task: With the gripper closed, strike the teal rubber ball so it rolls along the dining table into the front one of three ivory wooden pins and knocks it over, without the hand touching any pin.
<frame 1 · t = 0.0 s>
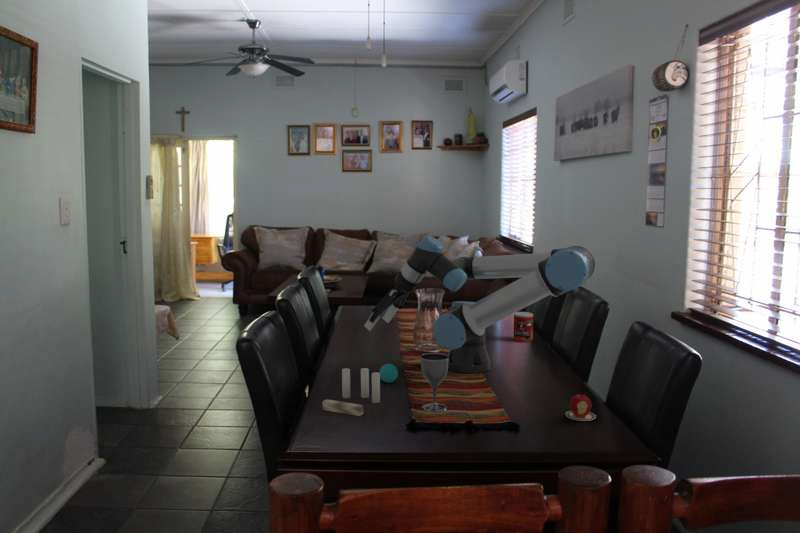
hand: (376, 324, 224), 15 cm above the table, tool tilted 35°, fingers open, 13 cm apart
canned food: (522, 340, 265), on the table
near back pin: (376, 401, 190), on the table
front pin: (365, 396, 195), on the table
backstop: (342, 411, 182), on the table
far back pin: (346, 397, 195), on the table
wine glass: (434, 408, 185), on the table
ball: (388, 373, 209), on the table
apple: (580, 417, 178), on the table
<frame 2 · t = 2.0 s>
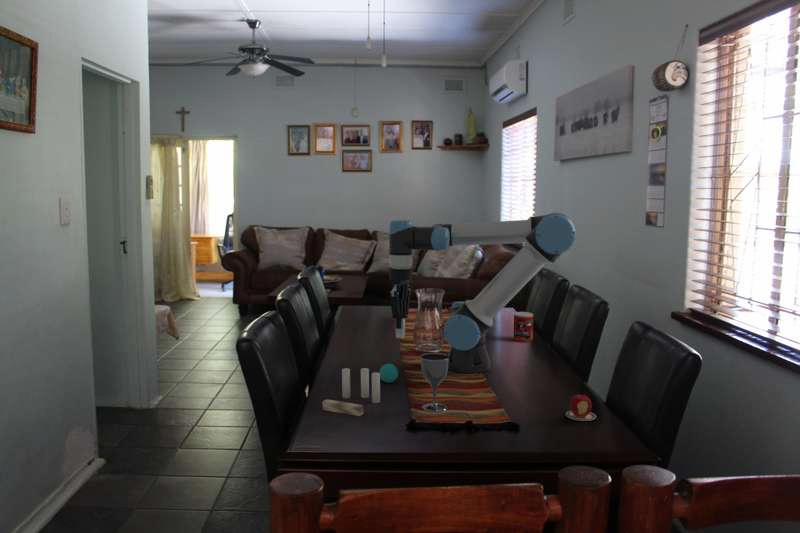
hand: (400, 337, 216), 13 cm above the table, tool pointing down, fingers closed
nothing on the table moved.
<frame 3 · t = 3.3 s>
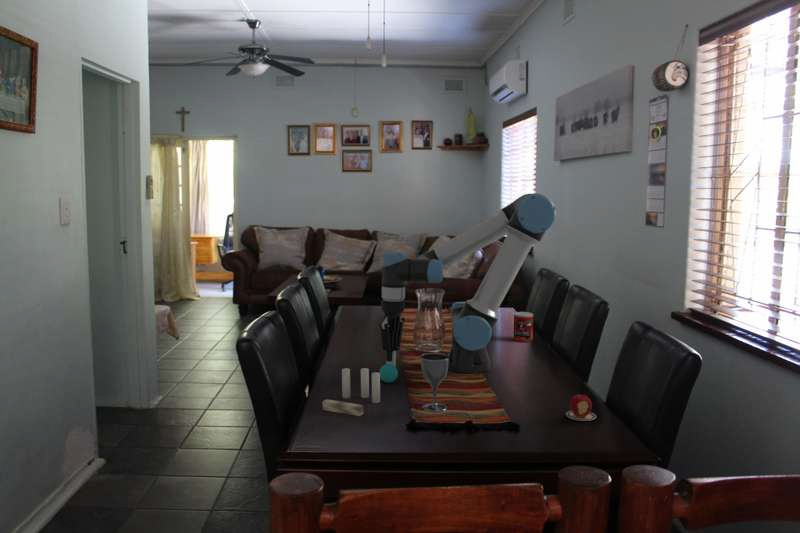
hand: (390, 369, 213), 3 cm above the table, tool pointing down, fingers closed
nothing on the table moved.
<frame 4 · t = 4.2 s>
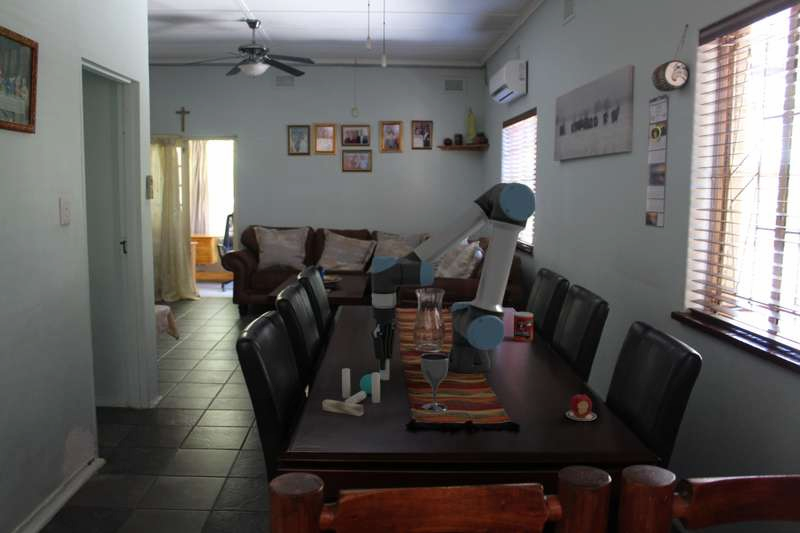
hand: (384, 378, 206), 2 cm above the table, tool pointing down, fingers closed
front pin: (362, 394, 193), point 1 cm above the table, tilted 90°
ball: (369, 384, 197), on the table
everything else where it was.
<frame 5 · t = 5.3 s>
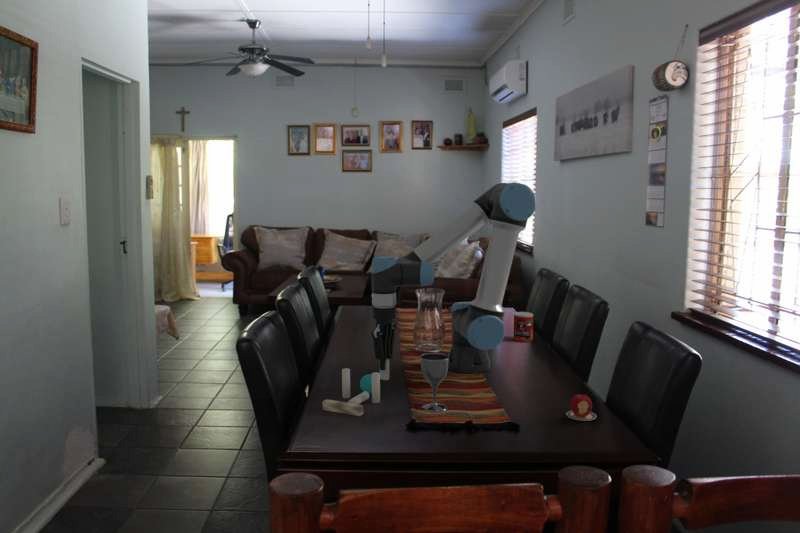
hand: (384, 379, 206), 2 cm above the table, tool pointing down, fingers closed
front pin: (365, 395, 193), point 1 cm above the table, tilted 90°
everything else where it was.
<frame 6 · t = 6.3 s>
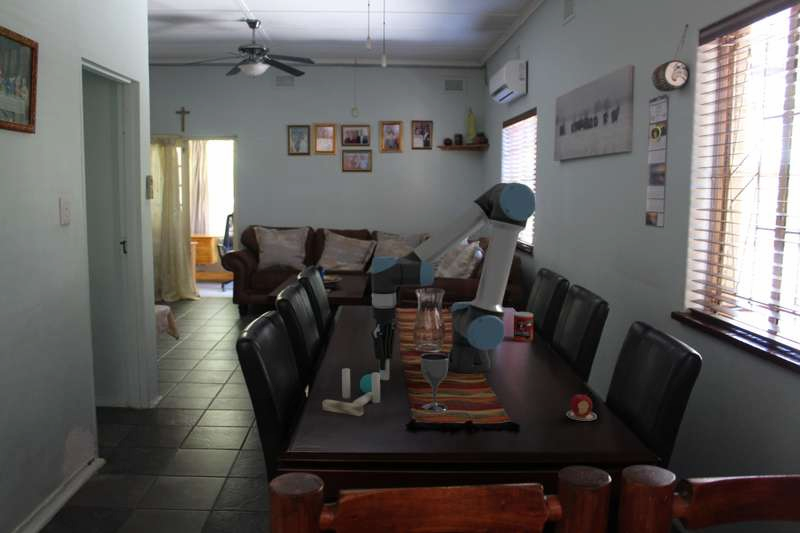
hand: (384, 379, 206), 2 cm above the table, tool pointing down, fingers closed
front pin: (370, 395, 192), point 1 cm above the table, tilted 90°
everything else where it was.
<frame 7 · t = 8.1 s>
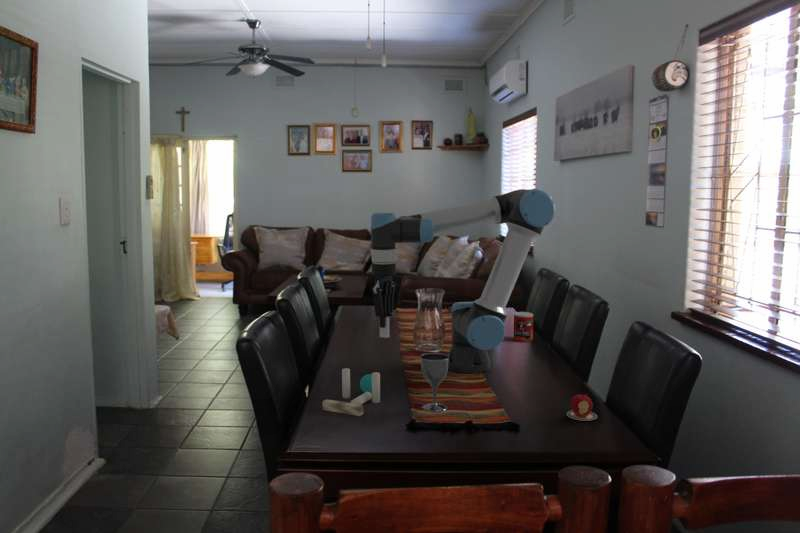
hand: (384, 336, 205), 16 cm above the table, tool pointing down, fingers closed
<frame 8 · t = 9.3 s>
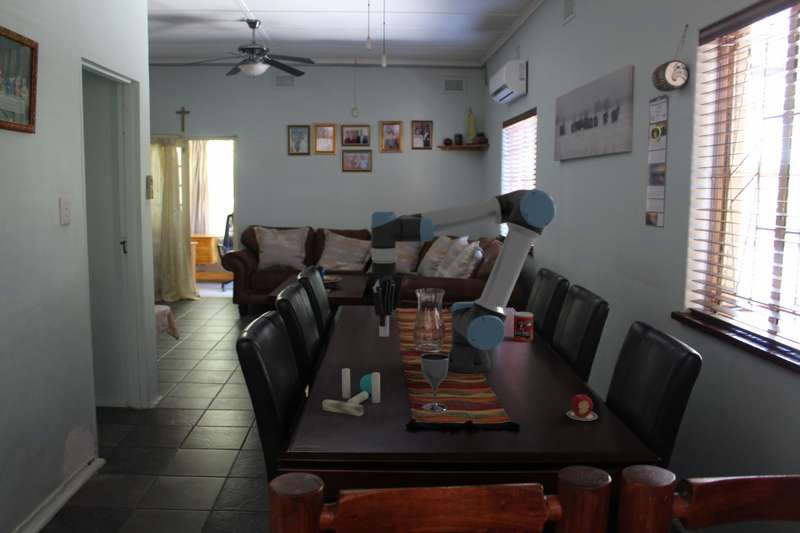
hand: (384, 335, 205), 16 cm above the table, tool pointing down, fingers closed
front pin: (365, 395, 193), point 1 cm above the table, tilted 90°
everything else where it was.
at the end: front pin tilted 90°; front pin never touched the robot; ball moved 12.7 cm from its start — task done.
